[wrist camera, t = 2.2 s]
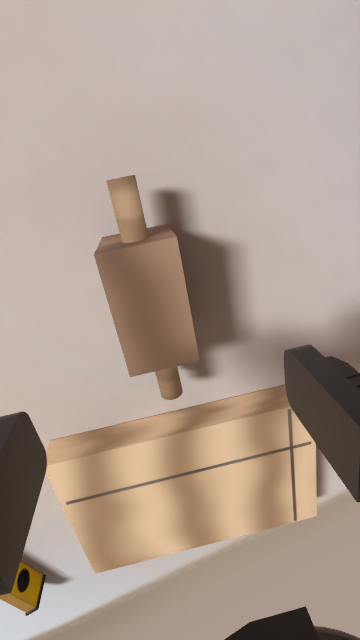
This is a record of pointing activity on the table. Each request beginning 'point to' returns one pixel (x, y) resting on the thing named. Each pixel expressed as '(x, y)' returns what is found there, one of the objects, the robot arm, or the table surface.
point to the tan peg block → (146, 292)
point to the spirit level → (26, 589)
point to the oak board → (185, 478)
